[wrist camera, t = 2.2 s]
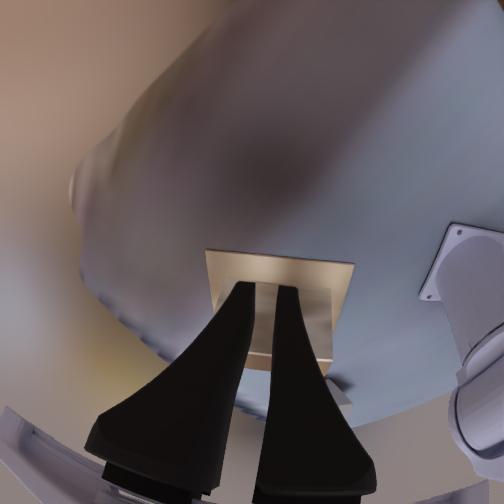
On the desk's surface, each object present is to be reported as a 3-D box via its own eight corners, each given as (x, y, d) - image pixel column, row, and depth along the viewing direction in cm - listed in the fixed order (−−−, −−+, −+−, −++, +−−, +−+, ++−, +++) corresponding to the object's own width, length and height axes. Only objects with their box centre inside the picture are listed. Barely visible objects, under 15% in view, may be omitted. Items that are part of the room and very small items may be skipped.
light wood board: (354, 263, 22) (354, 265, 21) (320, 365, 31) (320, 367, 31) (205, 249, 23) (205, 250, 23) (221, 354, 33) (220, 355, 33)
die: (307, 399, 39) (343, 442, 32) (262, 411, 35) (299, 463, 27) (331, 362, 37) (375, 407, 29) (285, 371, 32) (332, 429, 25)
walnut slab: (330, 288, 23) (332, 359, 18) (325, 308, 25) (325, 376, 19) (225, 277, 24) (203, 344, 19) (227, 297, 26) (207, 362, 20)
